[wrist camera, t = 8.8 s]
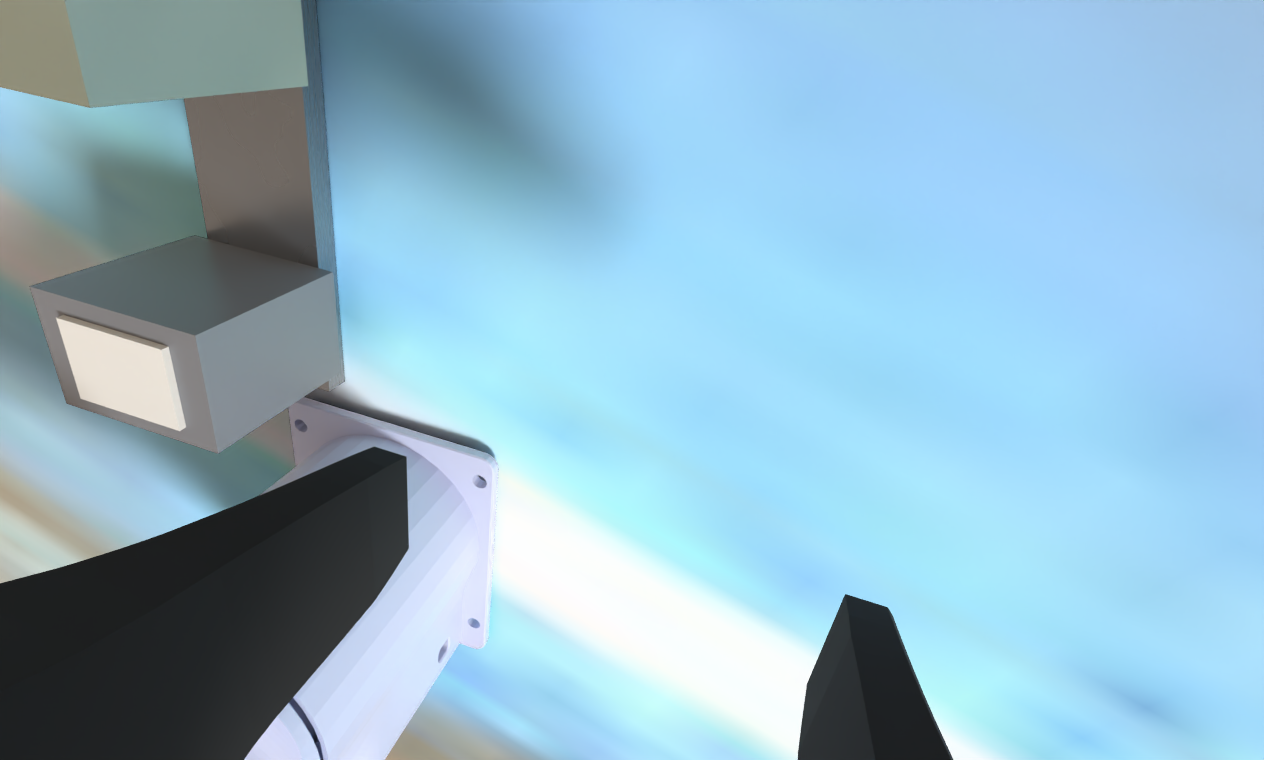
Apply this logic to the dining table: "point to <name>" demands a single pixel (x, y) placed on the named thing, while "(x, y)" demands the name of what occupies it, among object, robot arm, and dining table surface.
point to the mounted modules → (191, 338)
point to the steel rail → (270, 169)
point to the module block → (149, 48)
